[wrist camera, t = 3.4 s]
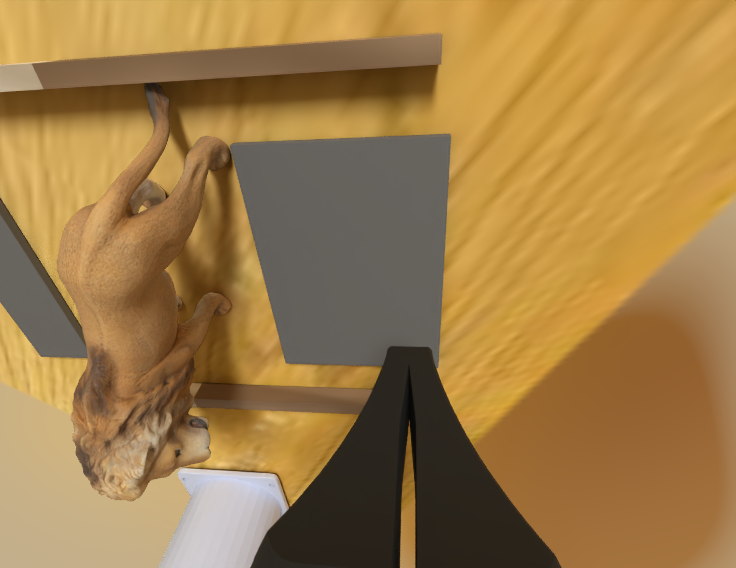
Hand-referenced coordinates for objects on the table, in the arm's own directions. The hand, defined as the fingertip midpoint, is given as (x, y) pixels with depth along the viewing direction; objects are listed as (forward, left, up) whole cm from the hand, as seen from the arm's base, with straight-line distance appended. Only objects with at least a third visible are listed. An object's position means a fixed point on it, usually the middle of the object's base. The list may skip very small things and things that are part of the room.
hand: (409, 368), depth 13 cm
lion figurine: (0, +10, -7) cm, 12 cm away
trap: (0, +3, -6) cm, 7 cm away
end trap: (0, +21, -6) cm, 22 cm away
